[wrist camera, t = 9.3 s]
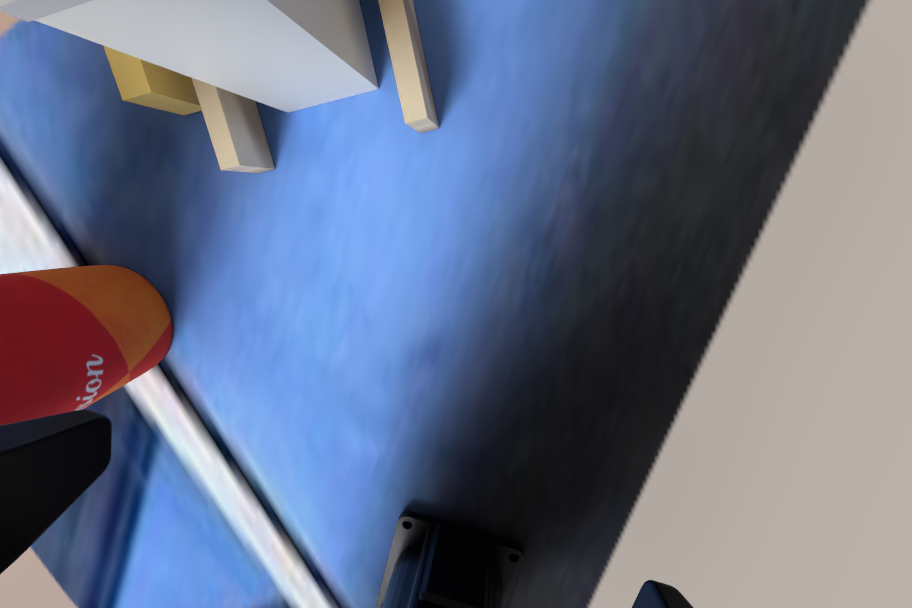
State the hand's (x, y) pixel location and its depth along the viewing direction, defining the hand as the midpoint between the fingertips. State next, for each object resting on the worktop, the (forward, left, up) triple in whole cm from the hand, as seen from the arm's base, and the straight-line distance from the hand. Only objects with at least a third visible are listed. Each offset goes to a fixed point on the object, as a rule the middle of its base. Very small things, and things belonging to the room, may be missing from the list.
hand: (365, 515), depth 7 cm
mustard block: (+7, +14, -12) cm, 20 cm away
